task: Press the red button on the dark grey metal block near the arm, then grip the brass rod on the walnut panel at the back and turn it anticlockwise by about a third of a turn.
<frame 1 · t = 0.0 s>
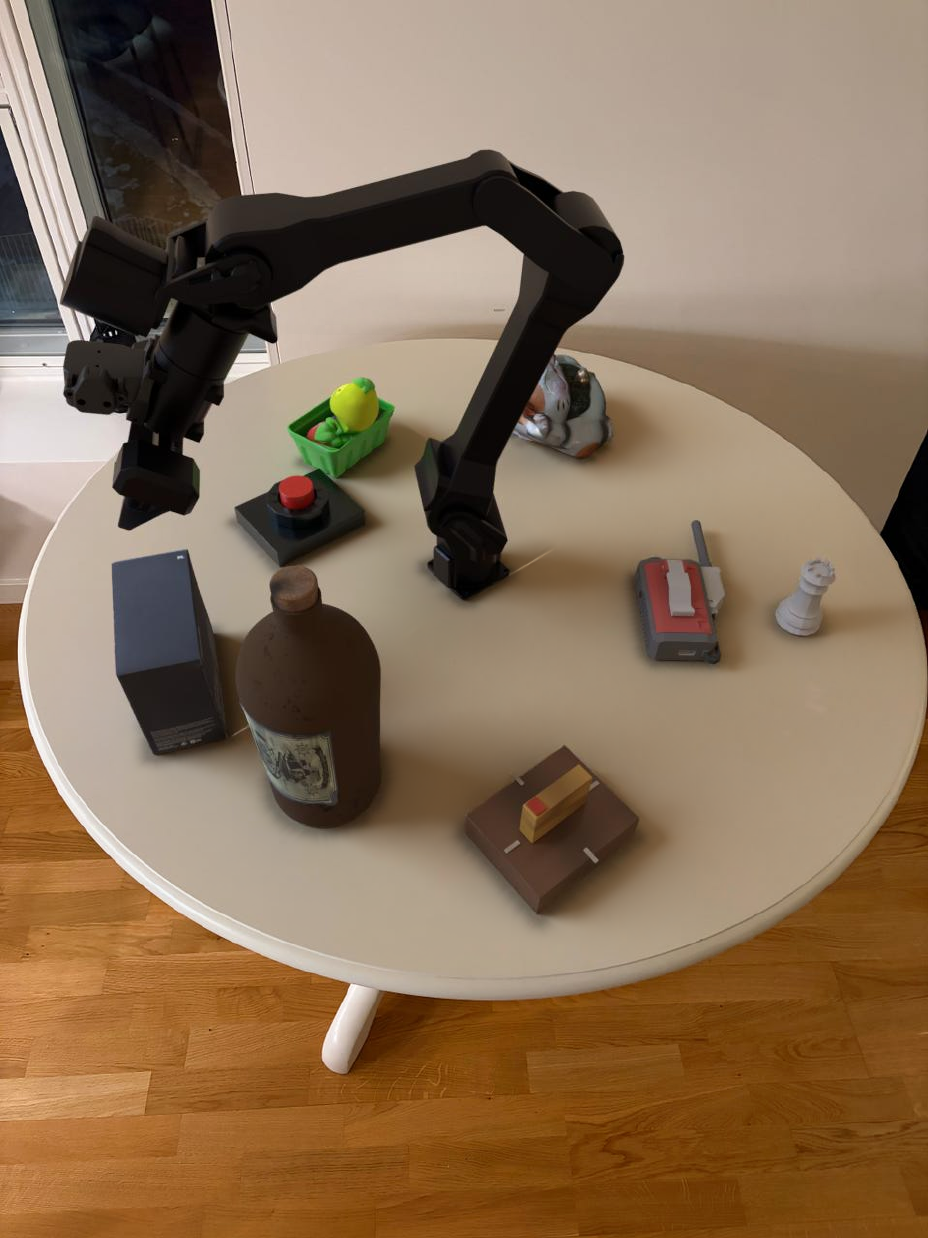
hand: (127, 492, 80), 15 cm above the table, tool tilted 35°, fingers open, 9 cm apart
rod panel: (549, 834, 75), on the table
rod knob: (555, 803, 71), point 5 cm above the table, hinge at 0.0°
fruit basket: (348, 455, 108), on the table
rook chess piece: (795, 623, 92), on the table
button block: (301, 523, 100), on the table
lucky cat figurine: (551, 436, 111), on the table
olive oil: (326, 781, 78), on the table
small box: (184, 693, 84), on the table
button: (296, 492, 96), point 4 cm above the table, slide at 0.1 cm
walkie-talkie: (676, 596, 94), on the table
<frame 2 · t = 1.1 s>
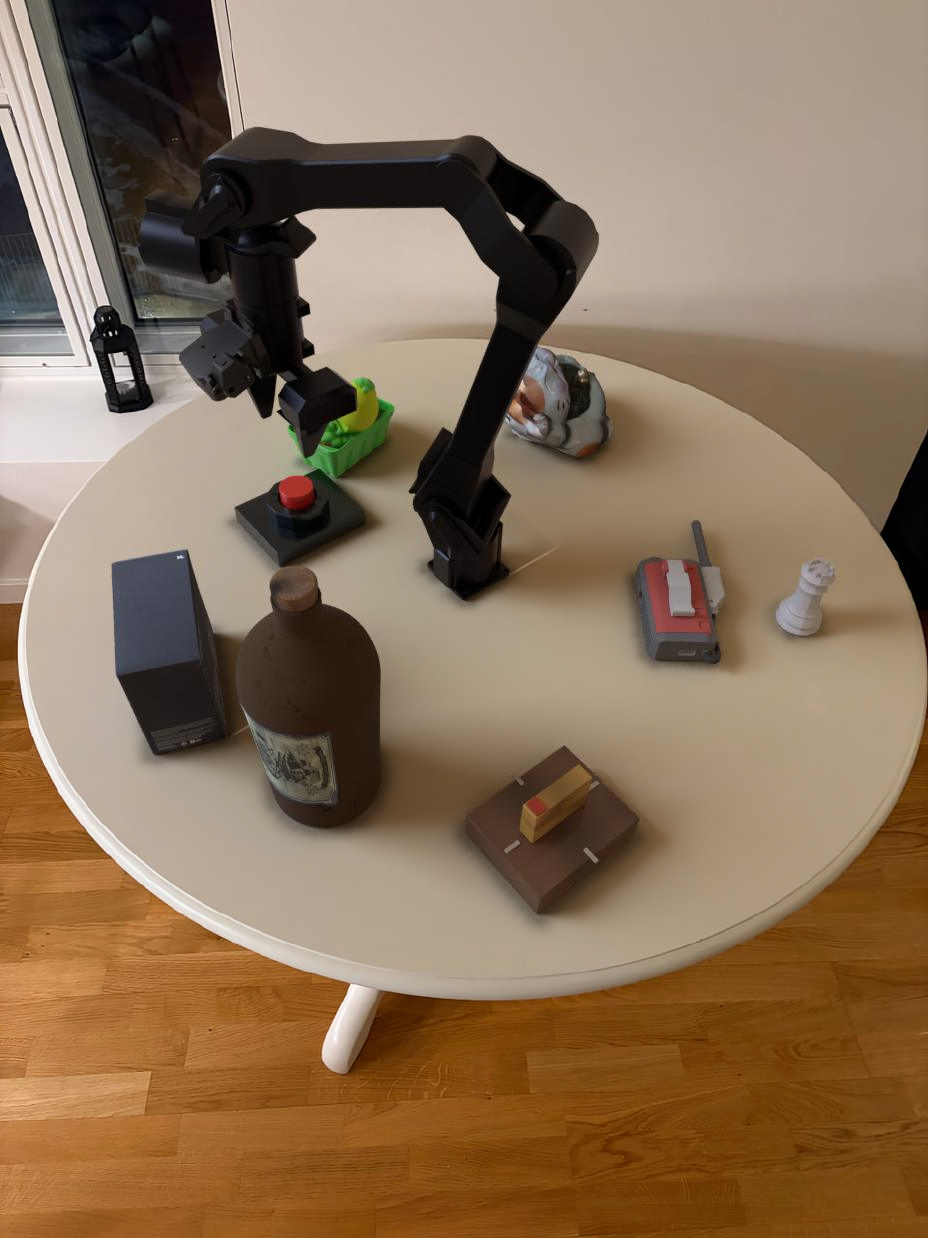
hand: (287, 436, 90), 12 cm above the table, tool pointing down, fingers open, 8 cm apart
nothing on the table moved.
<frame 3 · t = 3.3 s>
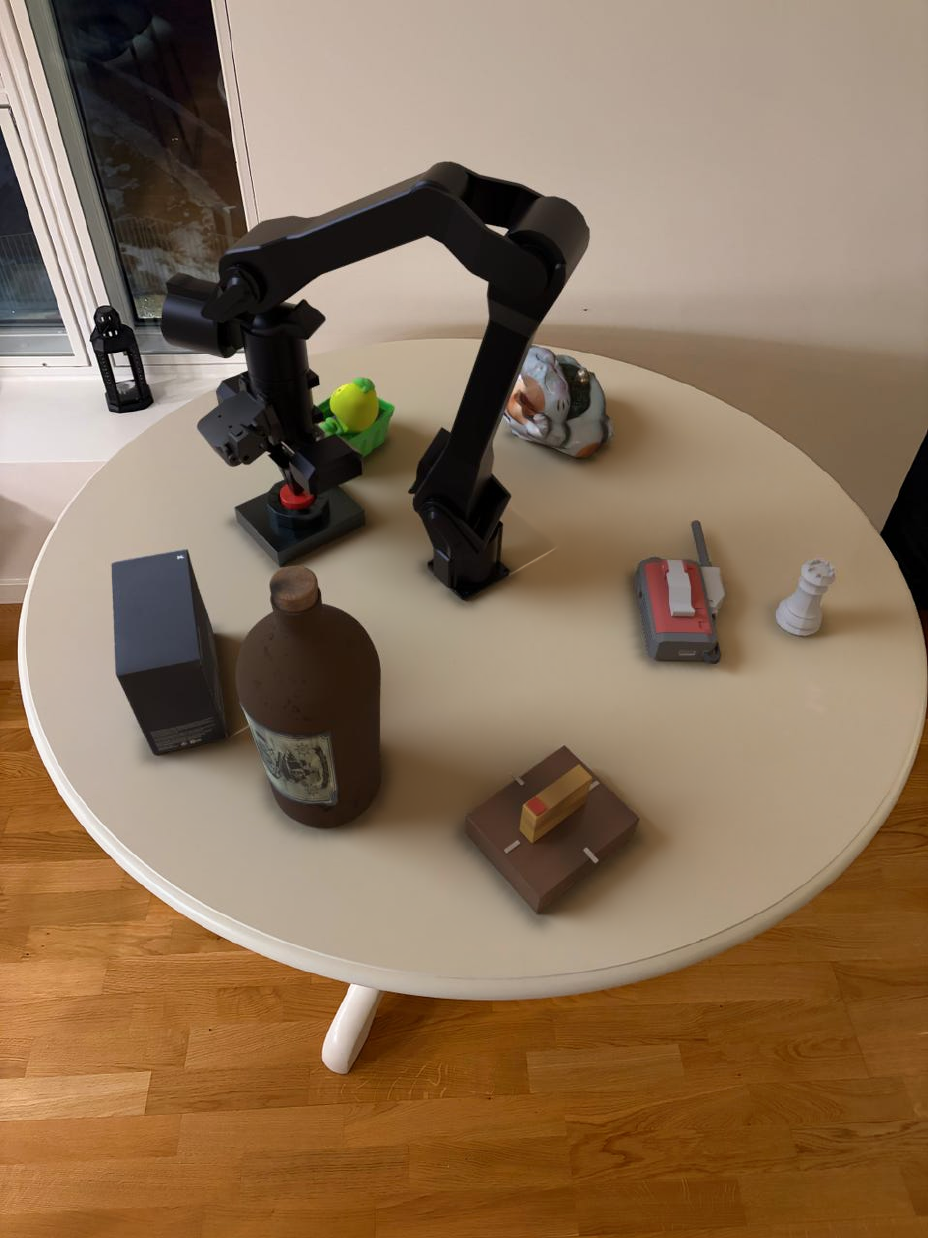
hand: (297, 492, 96), 5 cm above the table, tool pointing down, fingers closed, pressing on button
button: (297, 498, 97), point 4 cm above the table, slide at -0.7 cm, touching gripper
everything else where it was.
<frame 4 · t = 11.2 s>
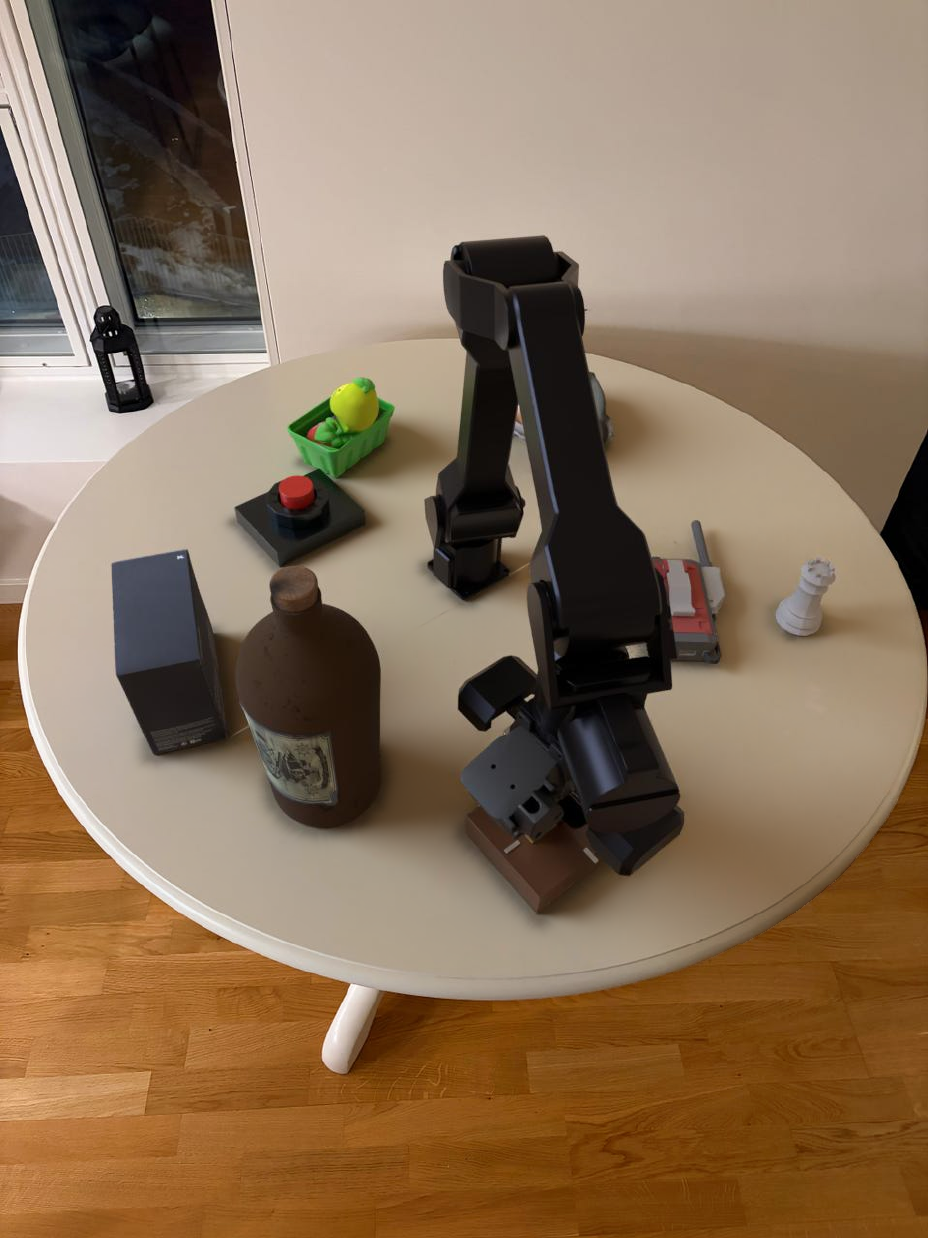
hand: (553, 813, 73), 4 cm above the table, tool pointing down, fingers closed on rod knob, 2 cm apart
rod knob: (555, 803, 71), point 5 cm above the table, hinge at 0.0°, touching gripper
button: (296, 492, 96), point 4 cm above the table, slide at 0.1 cm
everything else where it was.
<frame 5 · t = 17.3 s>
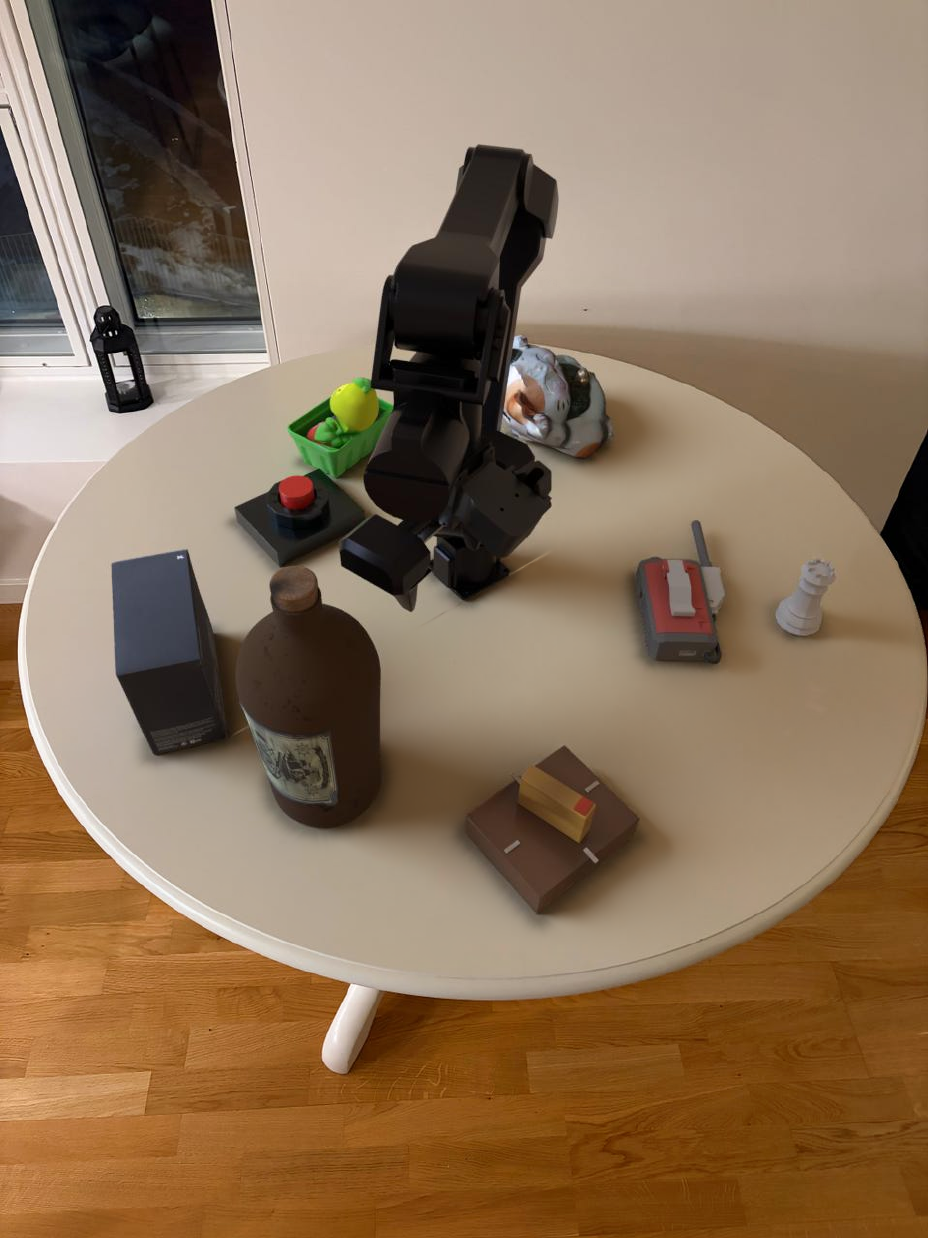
hand: (441, 577, 78), 12 cm above the table, tool pointing down, fingers open, 9 cm apart
rod knob: (555, 803, 71), point 5 cm above the table, hinge at 104.5°
everything else where it was.
at the end: button pushed in 1.2 cm at the most during the clip, back to where it started at the end; button slide at 0.1 cm; rod knob at +104° (first picture: +0°) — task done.
